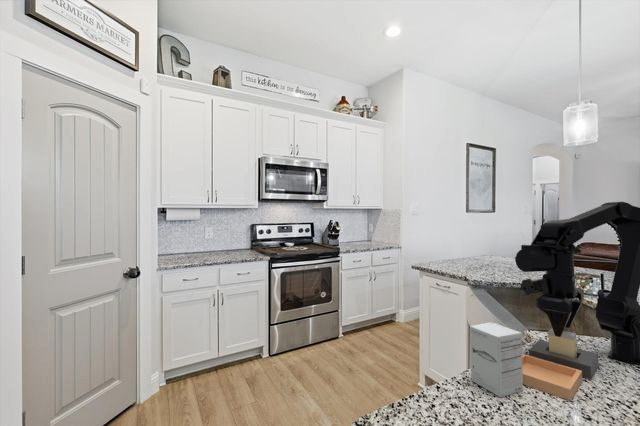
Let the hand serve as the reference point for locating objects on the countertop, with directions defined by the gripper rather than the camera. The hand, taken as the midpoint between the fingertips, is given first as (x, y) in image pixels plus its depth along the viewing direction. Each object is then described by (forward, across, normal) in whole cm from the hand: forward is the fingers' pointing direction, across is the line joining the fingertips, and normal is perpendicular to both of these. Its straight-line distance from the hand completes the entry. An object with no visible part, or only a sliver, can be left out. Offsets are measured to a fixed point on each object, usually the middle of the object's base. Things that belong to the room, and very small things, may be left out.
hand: (562, 331), depth 75 cm
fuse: (+8, 0, 0) cm, 8 cm away
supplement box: (+8, +24, -7) cm, 26 cm away
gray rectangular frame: (+8, 0, 0) cm, 8 cm away
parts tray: (+8, +13, -1) cm, 15 cm away
